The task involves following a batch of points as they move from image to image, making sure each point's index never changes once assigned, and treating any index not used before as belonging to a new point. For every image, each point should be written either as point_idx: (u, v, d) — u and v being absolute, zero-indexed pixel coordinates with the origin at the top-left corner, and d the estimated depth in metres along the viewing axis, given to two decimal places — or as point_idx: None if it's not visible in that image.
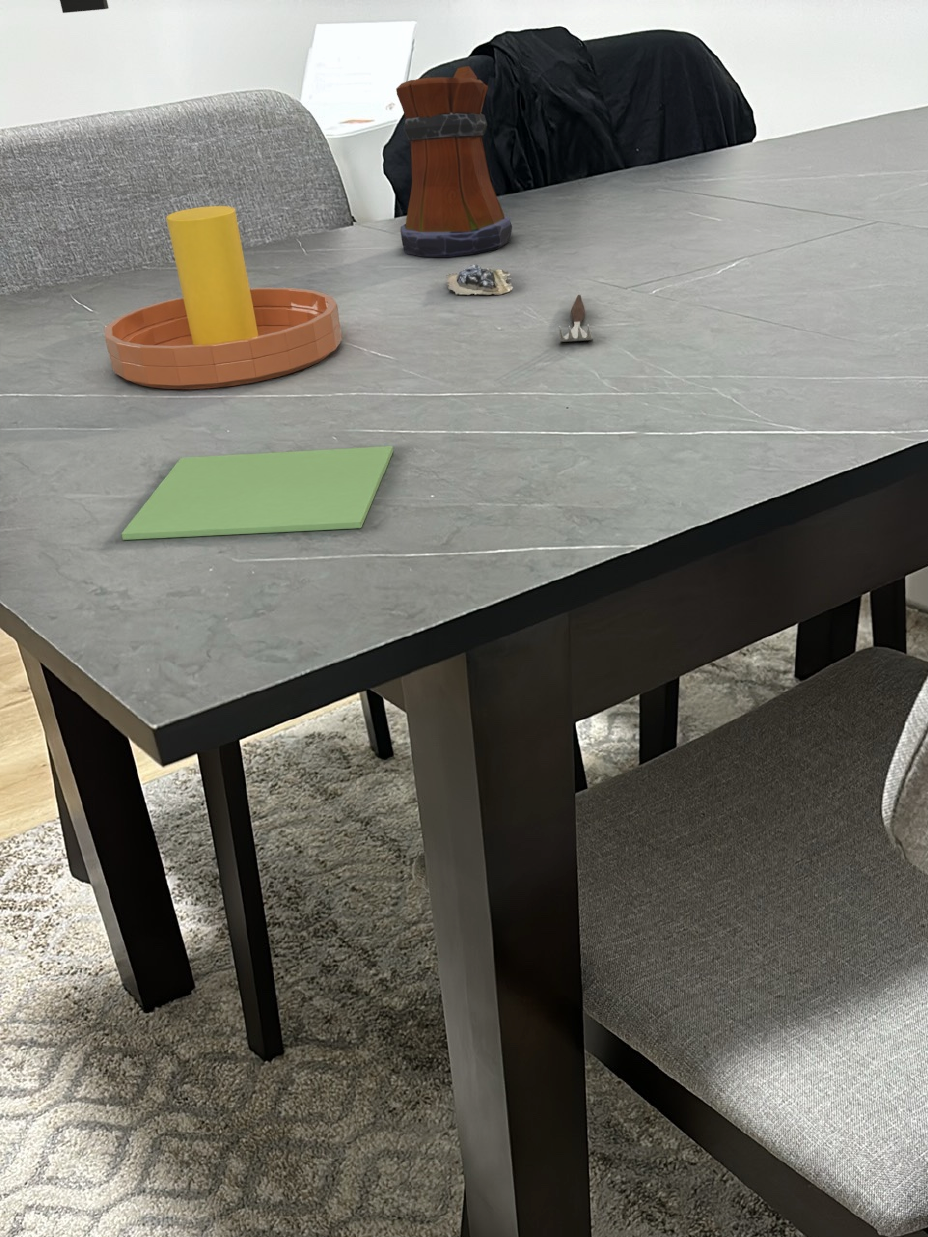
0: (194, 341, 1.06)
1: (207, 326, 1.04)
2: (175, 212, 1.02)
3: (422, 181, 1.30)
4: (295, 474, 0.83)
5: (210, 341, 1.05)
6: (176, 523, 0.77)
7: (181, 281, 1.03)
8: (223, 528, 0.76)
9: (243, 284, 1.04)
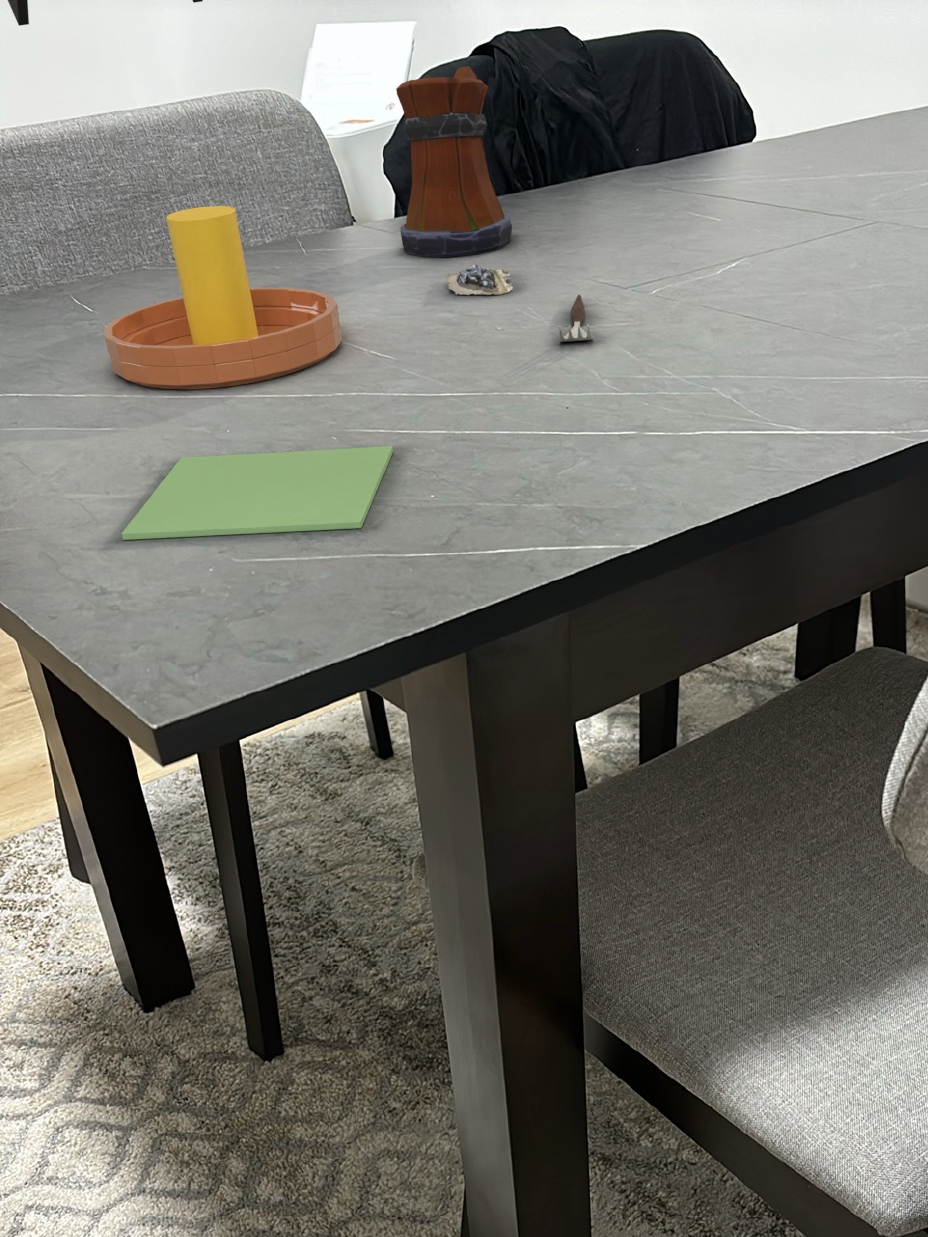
0: (194, 341, 1.06)
1: (207, 326, 1.04)
2: (175, 212, 1.02)
3: (422, 181, 1.30)
4: (295, 474, 0.83)
5: (210, 341, 1.05)
6: (176, 523, 0.77)
7: (181, 281, 1.03)
8: (223, 528, 0.76)
9: (243, 284, 1.04)
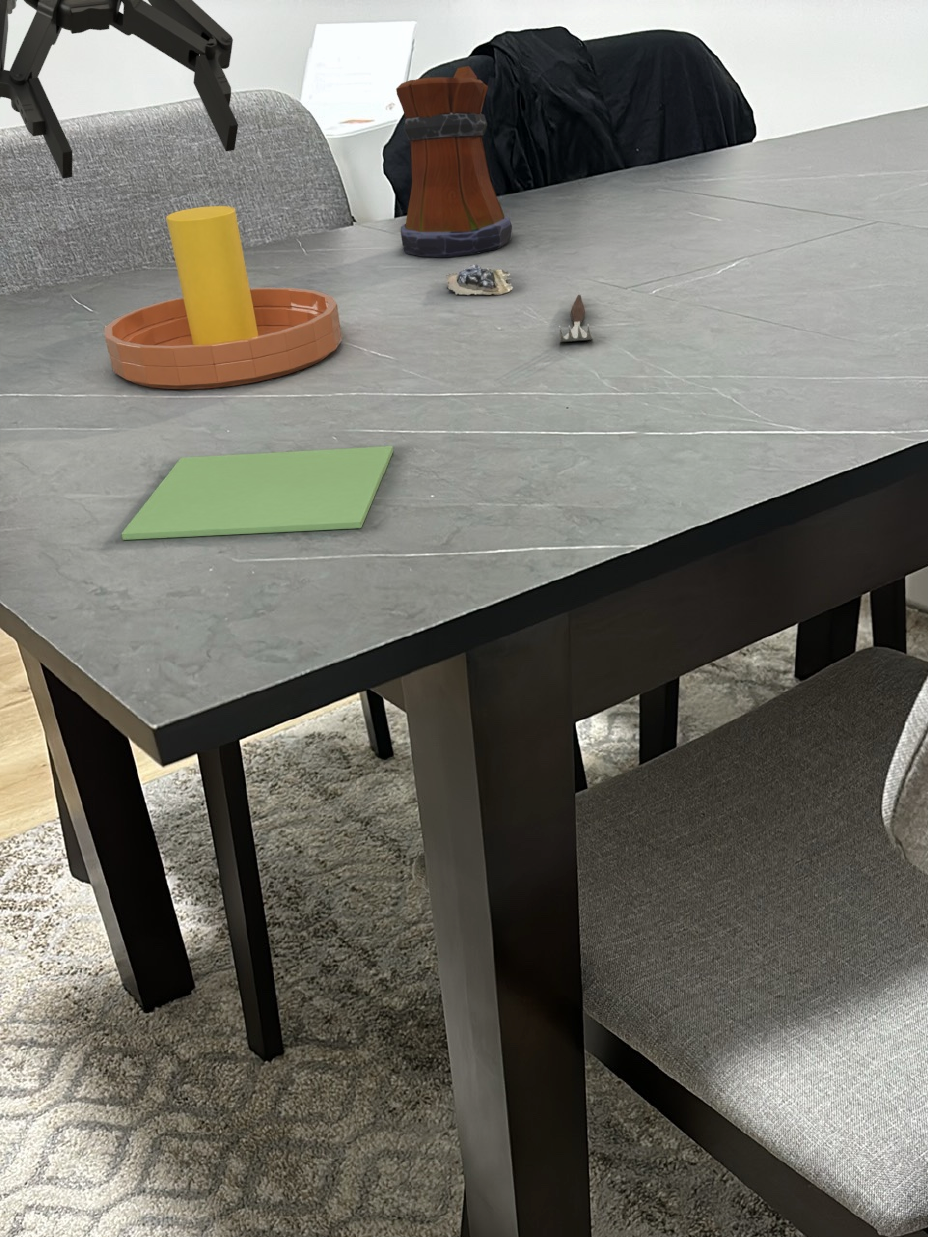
0: (194, 341, 1.06)
1: (207, 326, 1.04)
2: (175, 212, 1.02)
3: (422, 181, 1.30)
4: (295, 474, 0.83)
5: (210, 341, 1.05)
6: (176, 523, 0.77)
7: (181, 281, 1.03)
8: (223, 528, 0.76)
9: (243, 284, 1.04)
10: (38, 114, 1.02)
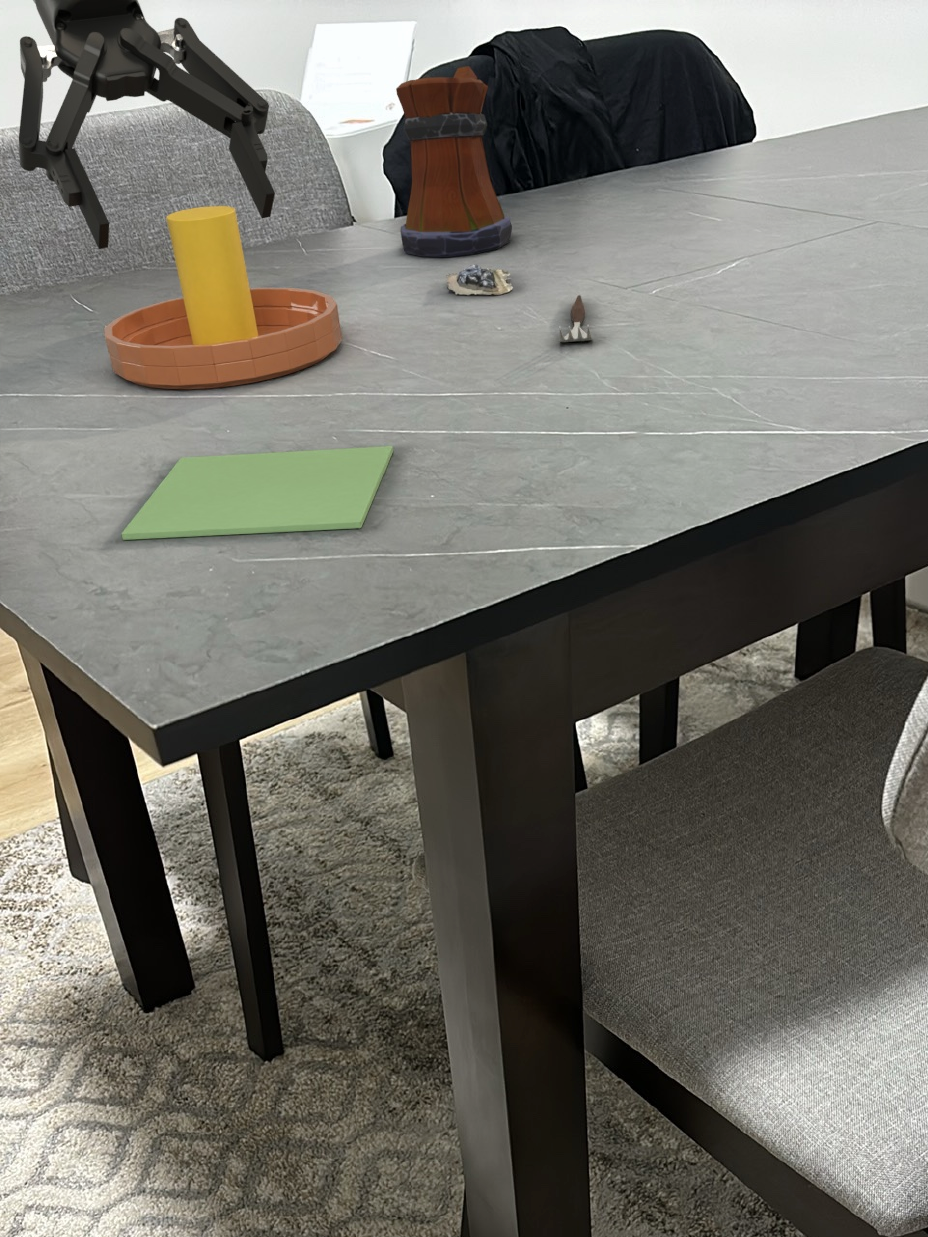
0: (194, 341, 1.06)
1: (207, 326, 1.04)
2: (175, 212, 1.02)
3: (422, 181, 1.30)
4: (295, 474, 0.83)
5: (210, 341, 1.05)
6: (176, 523, 0.77)
7: (181, 281, 1.03)
8: (223, 528, 0.76)
9: (243, 284, 1.04)
10: (74, 185, 1.01)
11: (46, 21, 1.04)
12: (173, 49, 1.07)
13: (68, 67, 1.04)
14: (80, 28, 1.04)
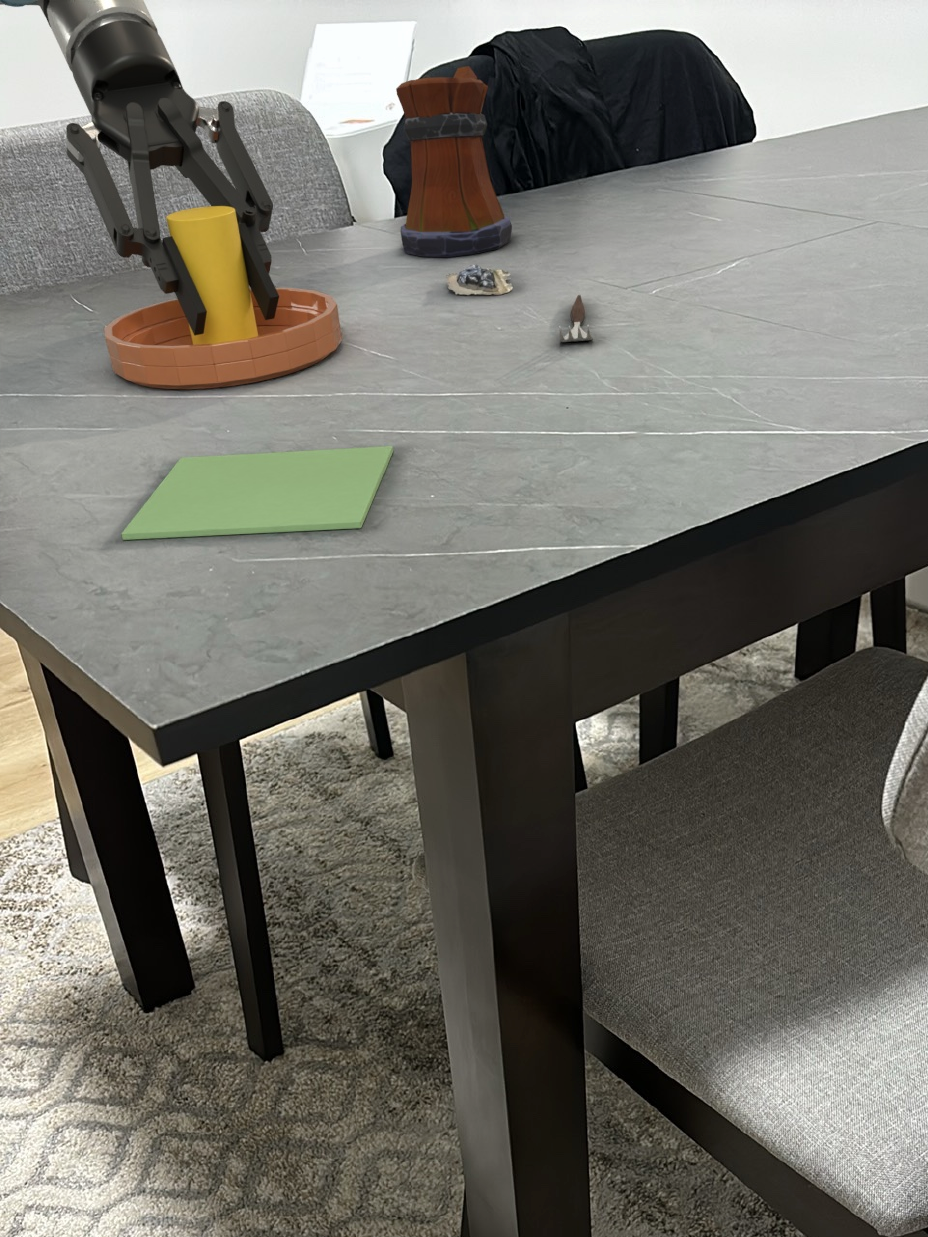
0: (194, 341, 1.06)
1: (207, 326, 1.04)
2: (175, 212, 1.02)
3: (422, 181, 1.30)
4: (295, 474, 0.83)
5: (210, 341, 1.05)
6: (176, 523, 0.77)
7: None
8: (223, 528, 0.76)
9: (243, 284, 1.04)
10: (172, 273, 1.01)
11: (83, 91, 1.03)
12: (208, 126, 1.05)
13: (105, 137, 1.03)
14: (118, 98, 1.02)
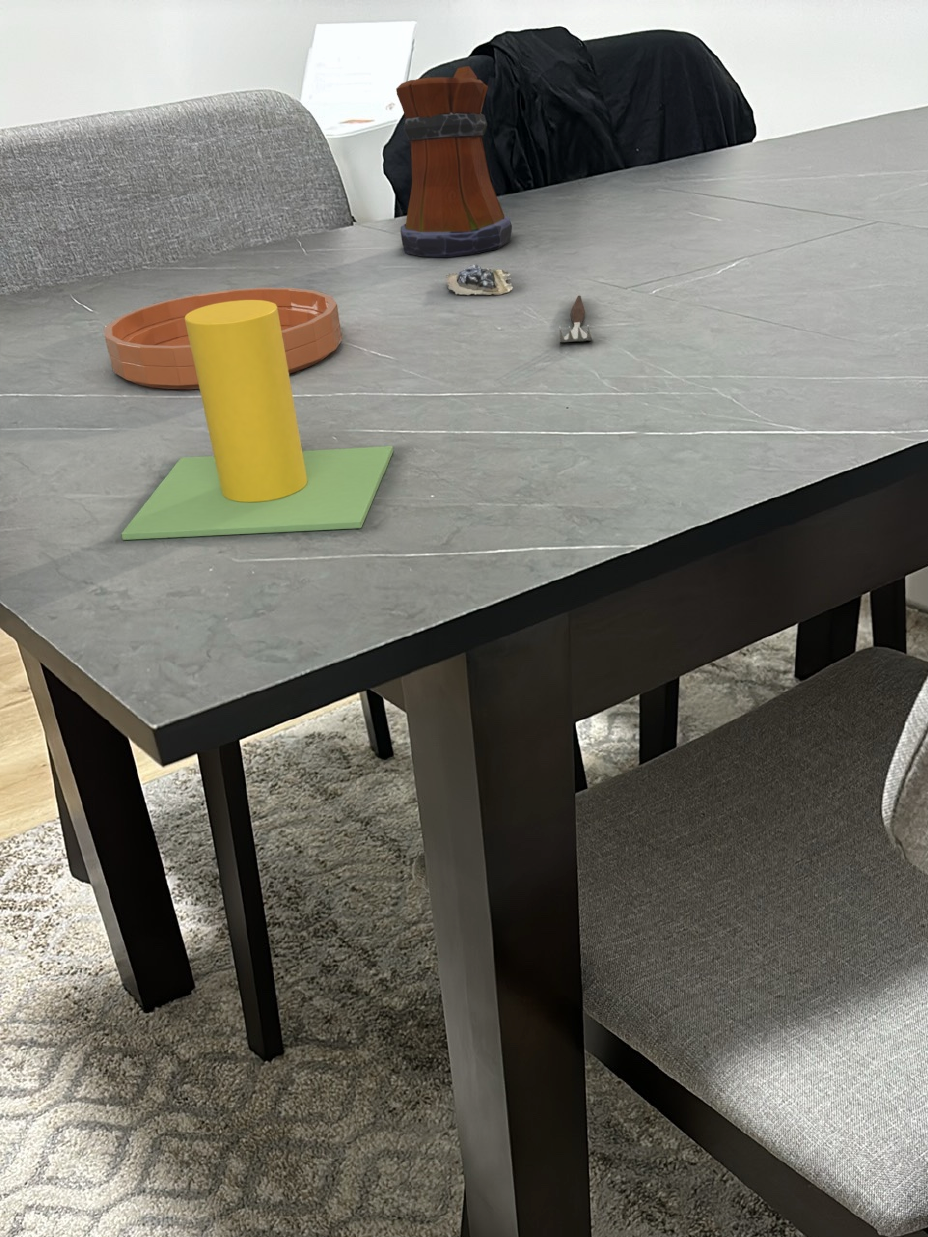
0: (221, 477, 0.80)
1: (239, 460, 0.78)
2: (196, 309, 0.76)
3: (422, 181, 1.30)
4: None
5: (242, 478, 0.78)
6: (176, 523, 0.77)
7: (204, 401, 0.77)
8: (223, 528, 0.76)
9: (287, 404, 0.77)
10: None
11: None
12: None
13: None
14: None
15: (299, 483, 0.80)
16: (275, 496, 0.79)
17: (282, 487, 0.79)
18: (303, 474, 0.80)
